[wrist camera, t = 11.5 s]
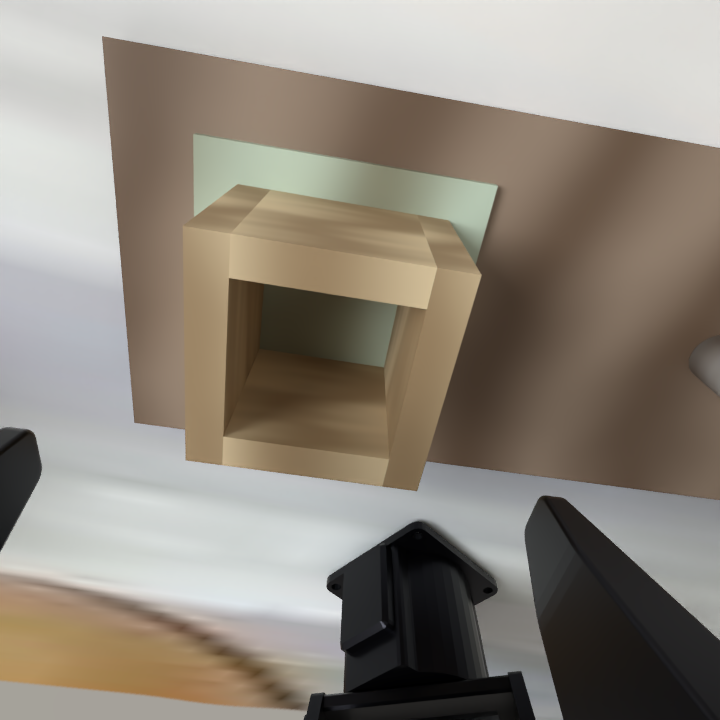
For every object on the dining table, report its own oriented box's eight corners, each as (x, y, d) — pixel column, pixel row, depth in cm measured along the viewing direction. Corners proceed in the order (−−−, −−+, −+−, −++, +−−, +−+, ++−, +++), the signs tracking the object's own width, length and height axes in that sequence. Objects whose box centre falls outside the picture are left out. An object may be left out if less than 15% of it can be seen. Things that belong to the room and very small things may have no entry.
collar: (448, 220, 15) (481, 274, 11) (405, 394, 18) (417, 491, 14) (237, 183, 15) (182, 226, 10) (230, 368, 18) (185, 460, 14)
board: (995, 198, 16) (1338, 260, 10) (771, 489, 22) (908, 627, 17) (121, 39, 14) (-42, 10, 9) (146, 405, 21) (61, 527, 15)
